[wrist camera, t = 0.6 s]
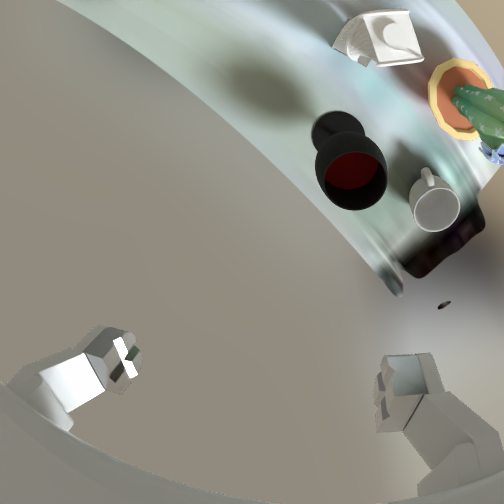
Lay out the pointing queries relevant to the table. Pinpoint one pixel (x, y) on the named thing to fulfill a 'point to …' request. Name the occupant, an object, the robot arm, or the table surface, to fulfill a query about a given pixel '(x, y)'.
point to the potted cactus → (468, 105)
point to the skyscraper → (380, 38)
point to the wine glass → (348, 162)
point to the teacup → (433, 202)
